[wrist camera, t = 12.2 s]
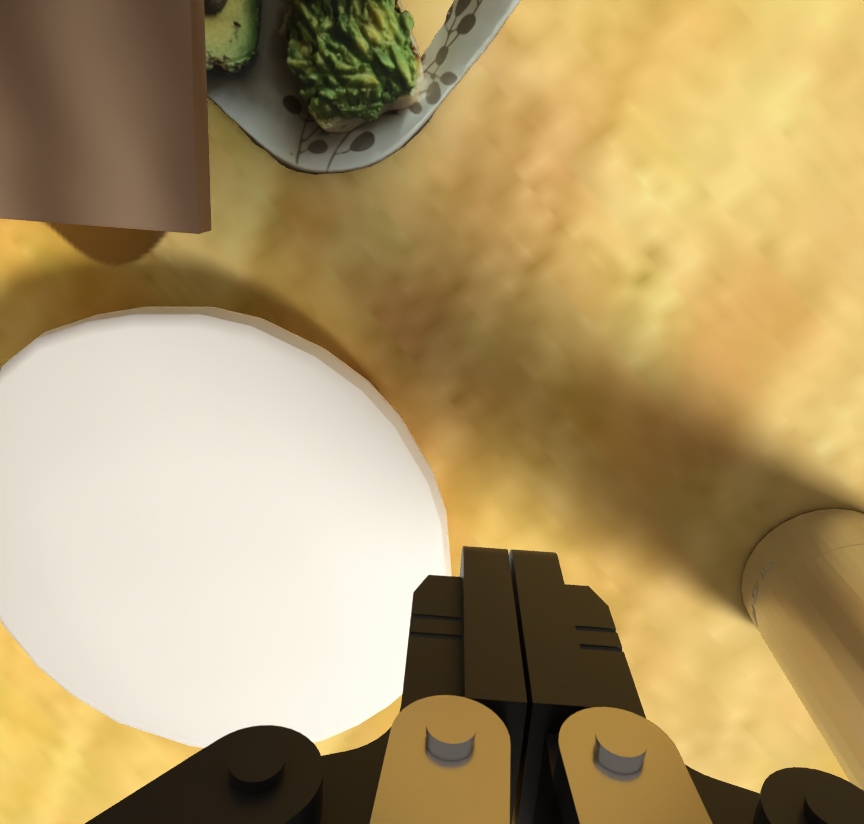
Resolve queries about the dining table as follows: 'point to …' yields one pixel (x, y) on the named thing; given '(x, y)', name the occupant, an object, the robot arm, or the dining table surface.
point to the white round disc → (210, 524)
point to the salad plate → (337, 73)
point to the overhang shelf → (105, 113)
